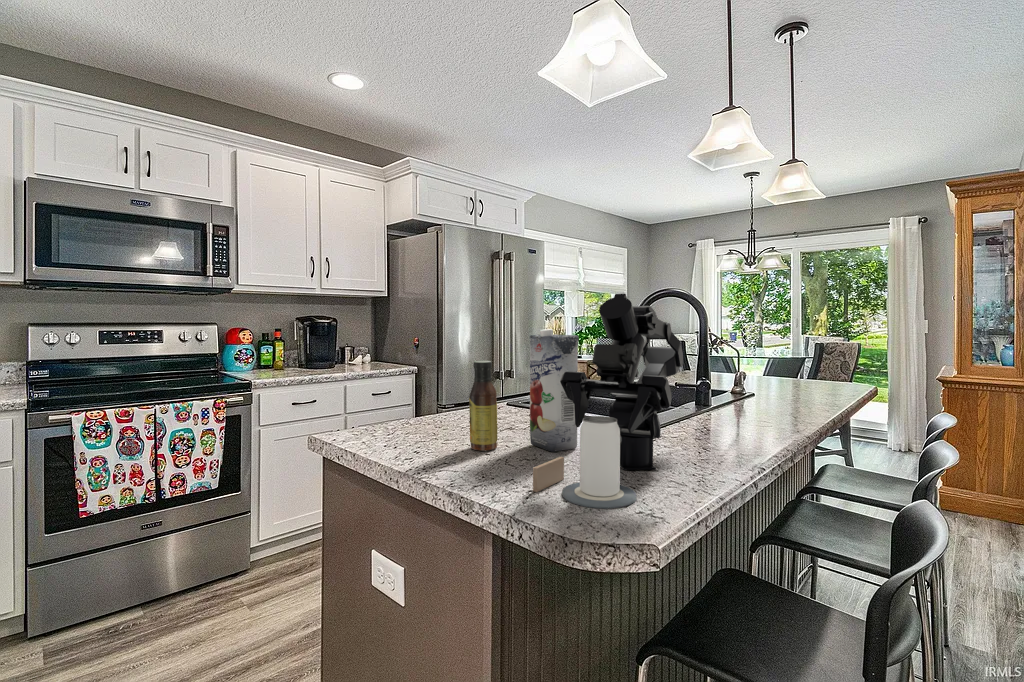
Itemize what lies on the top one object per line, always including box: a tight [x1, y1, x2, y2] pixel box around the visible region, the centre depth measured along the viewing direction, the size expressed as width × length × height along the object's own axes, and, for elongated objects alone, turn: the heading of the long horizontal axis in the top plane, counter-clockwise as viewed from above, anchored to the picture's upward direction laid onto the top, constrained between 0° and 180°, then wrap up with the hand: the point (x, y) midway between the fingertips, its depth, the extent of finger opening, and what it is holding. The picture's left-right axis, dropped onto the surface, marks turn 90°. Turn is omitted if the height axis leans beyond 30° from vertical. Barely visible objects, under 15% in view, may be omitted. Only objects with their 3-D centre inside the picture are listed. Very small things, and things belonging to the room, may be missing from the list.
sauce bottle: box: [468, 360, 499, 452], centre depth 117 cm, size 6×6×20 cm
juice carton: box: [529, 328, 580, 453], centre depth 119 cm, size 9×10×27 cm
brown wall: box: [532, 456, 565, 493], centre depth 91 cm, size 9×1×4 cm, turn 144°
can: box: [579, 415, 621, 497], centre depth 86 cm, size 6×6×12 cm
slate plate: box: [561, 481, 637, 509], centre depth 86 cm, size 12×12×1 cm
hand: (602, 428), depth 87 cm, fingers open, 9 cm apart
